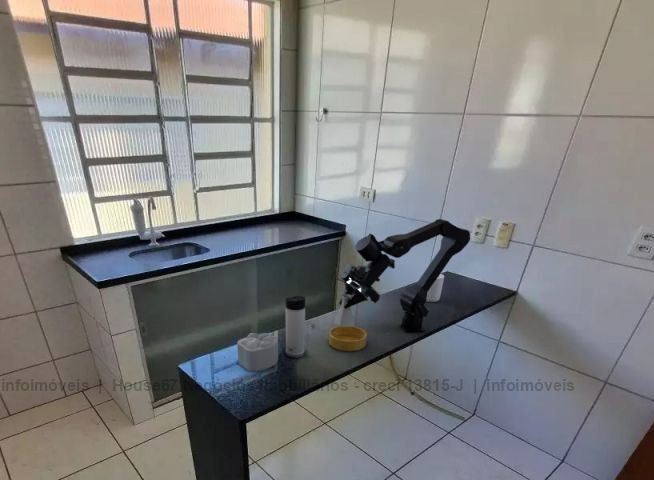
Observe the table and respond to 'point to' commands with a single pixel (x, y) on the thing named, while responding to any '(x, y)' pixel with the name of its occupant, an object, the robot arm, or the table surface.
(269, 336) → the lumpy-topped squat cylinder
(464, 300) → the table surface
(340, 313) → the flask
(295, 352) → the travel mug
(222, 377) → the table surface
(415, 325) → the robot arm
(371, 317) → the table surface
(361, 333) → the bowl
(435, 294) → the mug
